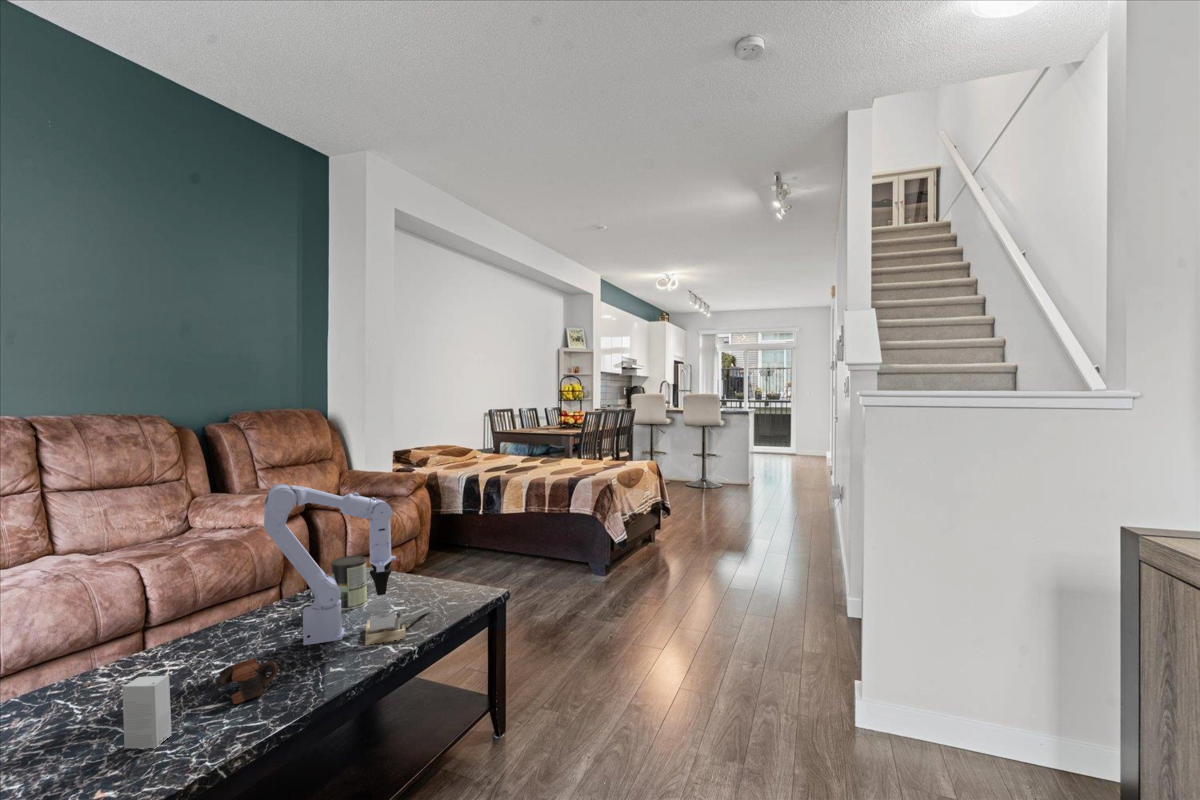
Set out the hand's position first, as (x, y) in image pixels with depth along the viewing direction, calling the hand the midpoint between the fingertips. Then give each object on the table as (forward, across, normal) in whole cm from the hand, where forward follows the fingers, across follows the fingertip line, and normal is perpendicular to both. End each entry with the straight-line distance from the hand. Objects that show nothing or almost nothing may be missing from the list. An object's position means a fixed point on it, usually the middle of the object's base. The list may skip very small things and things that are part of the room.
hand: (381, 590), depth 165 cm
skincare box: (+10, -44, +41) cm, 61 cm away
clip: (+10, -10, 0) cm, 14 cm away
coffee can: (+10, +22, +10) cm, 26 cm away
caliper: (+10, -3, -9) cm, 13 cm away
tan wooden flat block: (+10, -7, -1) cm, 12 cm away
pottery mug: (+10, -29, +27) cm, 41 cm away
